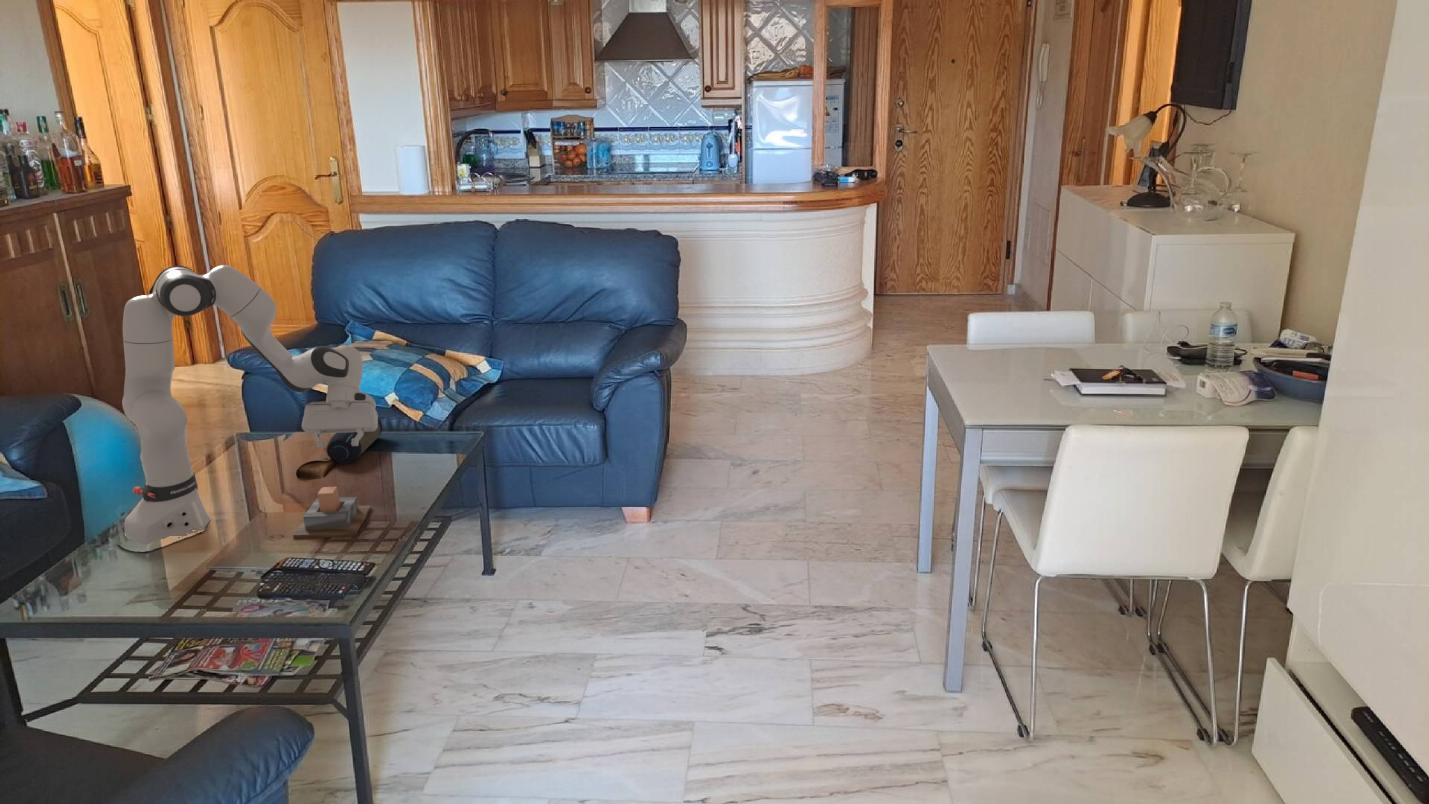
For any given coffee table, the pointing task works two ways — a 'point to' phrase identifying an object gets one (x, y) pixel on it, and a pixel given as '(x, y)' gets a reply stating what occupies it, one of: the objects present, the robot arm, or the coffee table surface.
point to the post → (329, 499)
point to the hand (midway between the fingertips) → (337, 446)
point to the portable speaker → (344, 451)
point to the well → (333, 520)
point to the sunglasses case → (316, 465)
